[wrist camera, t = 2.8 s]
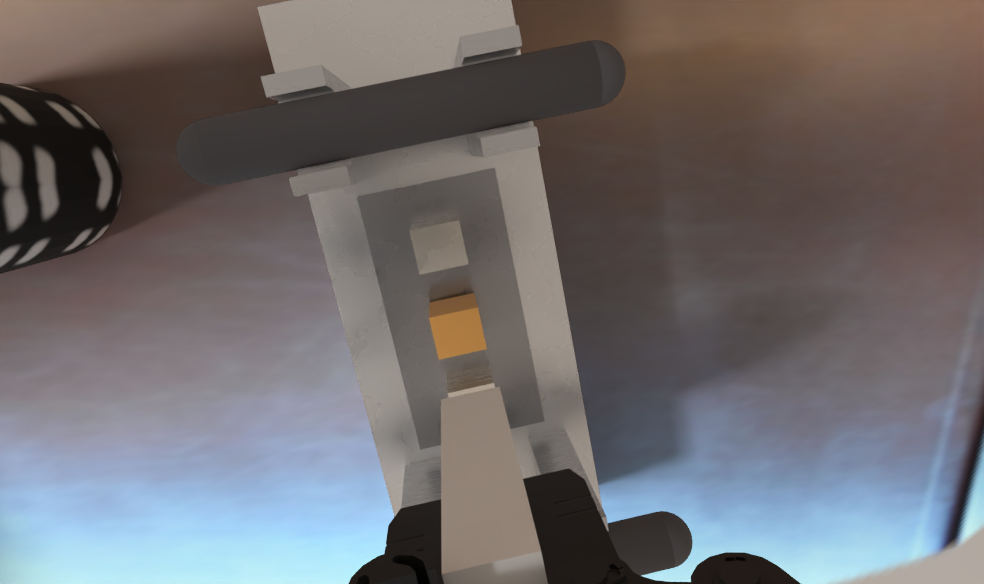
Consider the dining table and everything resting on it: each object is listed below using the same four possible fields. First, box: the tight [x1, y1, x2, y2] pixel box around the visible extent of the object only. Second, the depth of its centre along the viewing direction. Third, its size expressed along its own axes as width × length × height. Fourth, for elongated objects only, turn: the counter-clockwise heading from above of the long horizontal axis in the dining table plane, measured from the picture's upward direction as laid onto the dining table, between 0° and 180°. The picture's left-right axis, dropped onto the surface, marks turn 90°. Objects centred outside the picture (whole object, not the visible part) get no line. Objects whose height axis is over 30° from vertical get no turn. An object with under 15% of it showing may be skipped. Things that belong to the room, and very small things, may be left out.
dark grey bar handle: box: [608, 511, 692, 576], centre depth 23 cm, size 14×2×2 cm, turn 101°
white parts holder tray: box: [257, 0, 609, 531], centre depth 27 cm, size 10×28×13 cm, turn 11°
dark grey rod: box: [176, 40, 625, 185], centre depth 19 cm, size 14×2×2 cm, turn 101°
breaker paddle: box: [429, 293, 487, 360], centre depth 26 cm, size 2×2×3 cm
